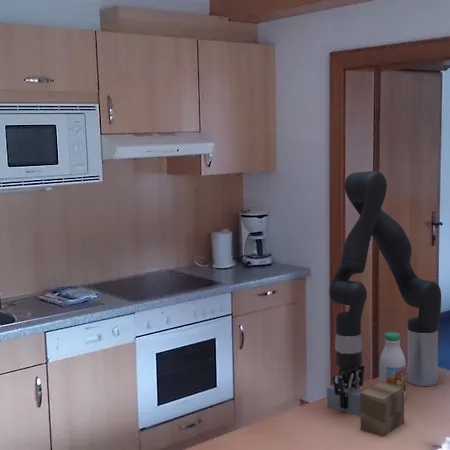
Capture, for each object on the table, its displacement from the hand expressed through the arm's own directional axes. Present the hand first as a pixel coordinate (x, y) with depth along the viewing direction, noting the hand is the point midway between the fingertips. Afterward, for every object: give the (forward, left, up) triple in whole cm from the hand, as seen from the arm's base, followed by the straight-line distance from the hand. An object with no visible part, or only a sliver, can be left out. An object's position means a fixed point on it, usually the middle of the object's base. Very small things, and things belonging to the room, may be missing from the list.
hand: (349, 404), depth 199 cm
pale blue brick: (0, 0, -1) cm, 1 cm away
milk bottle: (-15, +6, -2) cm, 16 cm away
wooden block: (+5, +14, -1) cm, 14 cm away
